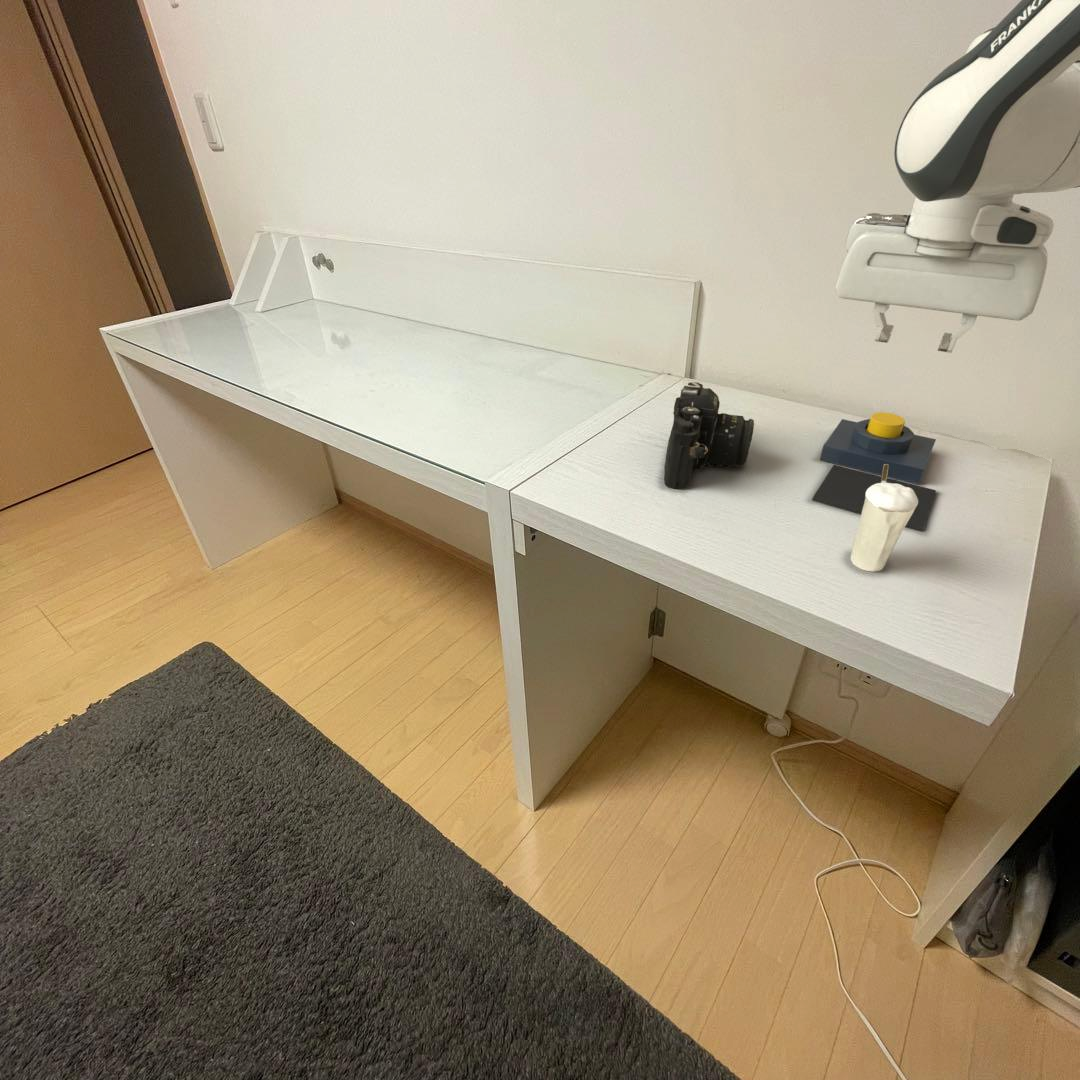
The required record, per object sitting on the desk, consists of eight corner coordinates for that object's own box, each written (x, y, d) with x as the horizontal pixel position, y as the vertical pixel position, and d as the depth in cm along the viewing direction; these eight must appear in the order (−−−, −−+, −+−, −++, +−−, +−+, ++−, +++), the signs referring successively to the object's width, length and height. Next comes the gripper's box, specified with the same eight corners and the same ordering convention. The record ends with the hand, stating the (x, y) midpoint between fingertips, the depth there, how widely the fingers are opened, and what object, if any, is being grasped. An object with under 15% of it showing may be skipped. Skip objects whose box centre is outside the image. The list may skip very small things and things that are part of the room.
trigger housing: (930, 453, 83) (941, 426, 81) (918, 484, 77) (929, 456, 74) (838, 432, 89) (845, 407, 87) (819, 460, 82) (826, 433, 80)
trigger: (902, 430, 81) (907, 416, 80) (897, 442, 78) (902, 427, 77) (870, 424, 83) (874, 409, 82) (863, 434, 80) (868, 420, 79)
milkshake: (879, 546, 66) (910, 465, 60) (897, 577, 62) (933, 493, 56) (836, 544, 67) (862, 463, 61) (851, 575, 62) (881, 491, 57)
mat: (934, 492, 75) (936, 490, 75) (921, 531, 68) (923, 528, 68) (832, 467, 81) (833, 464, 80) (811, 500, 74) (812, 497, 74)
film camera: (768, 495, 75) (786, 420, 70) (668, 497, 75) (677, 422, 69) (729, 431, 90) (741, 365, 84) (646, 433, 90) (652, 367, 84)
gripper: (847, 215, 69) (816, 338, 77) (1070, 229, 59) (1009, 369, 67) (859, 208, 73) (829, 325, 81) (1070, 220, 63) (1012, 352, 71)
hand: (912, 345), depth 74 cm, fingers open, 5 cm apart
